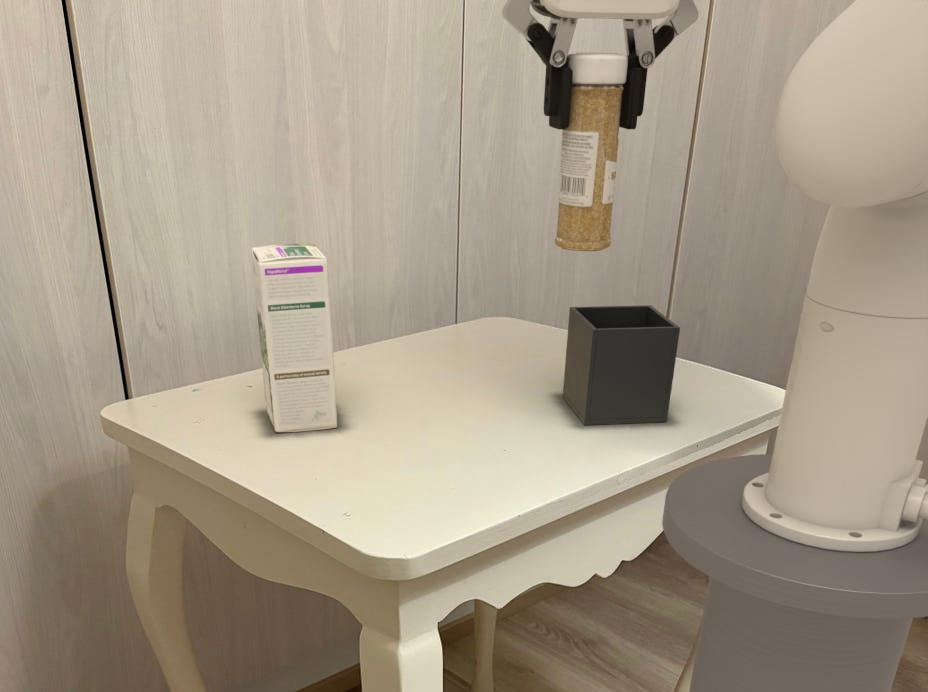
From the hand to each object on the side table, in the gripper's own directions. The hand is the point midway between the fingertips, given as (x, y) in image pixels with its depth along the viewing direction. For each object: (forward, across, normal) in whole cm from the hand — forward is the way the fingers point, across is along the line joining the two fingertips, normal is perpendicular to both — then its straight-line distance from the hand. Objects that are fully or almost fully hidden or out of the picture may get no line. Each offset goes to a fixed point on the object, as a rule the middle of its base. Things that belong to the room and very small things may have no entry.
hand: (592, 124), depth 75 cm
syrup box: (+24, -23, +6) cm, 34 cm away
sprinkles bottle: (+9, 0, 0) cm, 9 cm away
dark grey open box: (+24, +6, +5) cm, 25 cm away
